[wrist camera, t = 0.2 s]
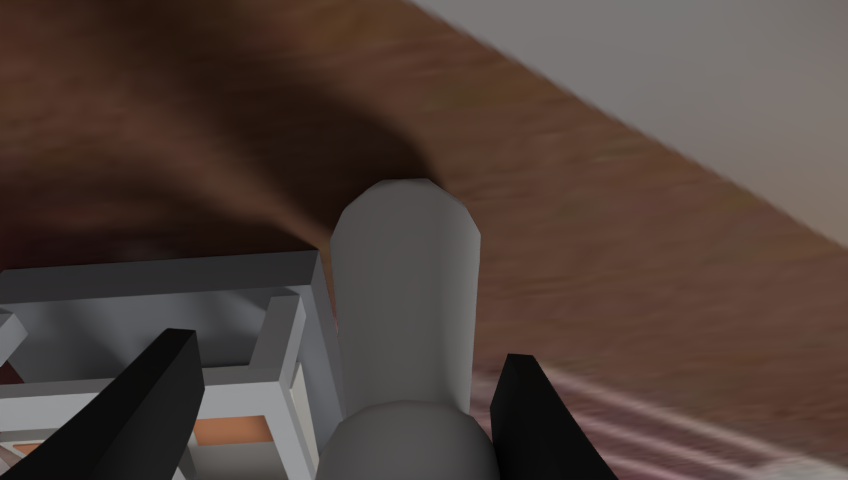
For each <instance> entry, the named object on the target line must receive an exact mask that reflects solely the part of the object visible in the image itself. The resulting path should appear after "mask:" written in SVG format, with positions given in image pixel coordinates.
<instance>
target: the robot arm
mask: <svg viewBox="0 0 848 480" xmlns="http://www.w3.org/2000/svg"><path fill="white" fill-rule="evenodd" d="M204 392H205V385H204V378H203V372H202V366H201V360H200V353H199V347H198V341H197V335H196V330H189V329H176V328H167V329H166V330H164V331H163V332H162V333H161V334H160V335H159V336H158V337H157V338H156V339H155V340H154V341H153V342H152V343H151V344H150V345H149V346H148V347H147V348H146V349H145V350H144V351H143V352H142V353H141V354H140V355H139V356H138V357H137V358H136V359H135V360H134V361H133V362H132V363H131V364H130V365H129V366H128V367H127V368H125V369H124V370H123V371H122V372H121V373H120V374H119V375H118V376H117V377H116V378H115V379H114V380H113V381H112V382H111V383H110V384H109V385H108V386H106V387H105V388H104V389H103V390H102V391H101V392H100V393H99V394H98V395H97V396H96V397H95V398H93V399H92V400H91V401H90V402H89V403H88V404H87V405H86V406H85V407H84V408H82V409H81V410H80V411H79V412H78V413H77V414H76V415H74V416H73V417H72V418H71V419H70V420H69V421H67V422H66V423H65V424H64V425H63V426H62V427H60V428H59V429H58V430H57V431H56V432H55V433H53V434H52V435H51V436H50V437H49V438H47V439H46V440H45V441H44V442H43V443H41V444H40V445H39V446H38V447H37V448H35V449H34V450H33V451H32V452H30V453H29V454H28V455H27V456H25V457H24V458H23V459H21V460H20V461H19V462H18V463H16V464H15V465H14V466H13V467H11V468H10V469H9V470H7V471H6V472H5V473H3V474H2V475H1V476H0V480H172V478H173V476H174V474H175V471H176V469H177V467H178V465H179V462H180V460H181V458H182V455H183V453H184V451H185V448H186V446H187V444H188V441H189V439H190V437H191V434H192V432H193V428H194V425H195V422H196V419H197V416H198V412H199V409H200V406H201V402H202V399H203V395H204ZM490 415H491V429H492V440H493V446H494V448H495V452H496V456H497V461H498V466H499V470H500V480H619V479H618V478H617V477H616V476H615V474H614V473H613V472H612V470H611V469H610V468H609V466H608V465H607V464H606V463H605V461H604V460H603V459H602V457H601V456H600V455H599V453H598V452H597V451H596V449H595V448H594V447H593V445H592V444H591V442H590V441H589V440H588V438H587V437H586V435H585V434H584V433H583V431H582V430H581V428H580V427H579V425H578V424H577V423H576V421H575V420H574V418H573V417H572V415H571V414H570V412H569V411H568V409H567V408H566V406H565V405H564V403H563V402H562V400H561V399H560V397H559V396H558V394H557V392H556V391H555V389H554V388H553V386H552V385H551V383H550V381H549V380H548V378H547V377H546V375H545V373H544V372H543V370H542V369H541V367H540V365H539V364H538V362H537V361H536V359H535V358H534V356H533V355H522V354H508V355H507V358H506V361H505V364H504V367H503V370H502V373H501V376H500V379H499V382H498V385H497V388H496V391H495V394H494V397H493V400H492V403H491V406H490Z"/></svg>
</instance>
